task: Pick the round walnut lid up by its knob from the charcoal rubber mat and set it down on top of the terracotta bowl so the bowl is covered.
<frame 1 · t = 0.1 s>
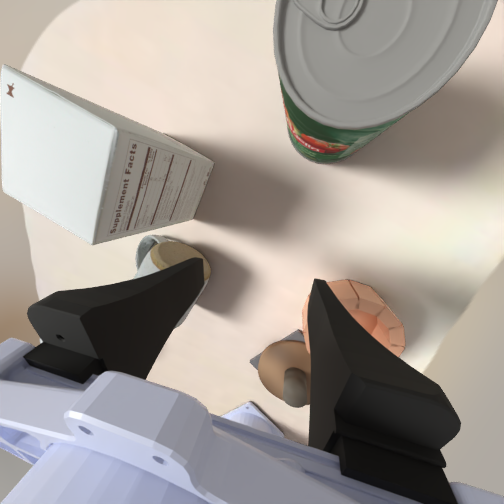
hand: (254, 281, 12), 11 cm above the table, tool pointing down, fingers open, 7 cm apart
canned tomato: (330, 118, 18), on the table
walnut lid: (295, 370, 26), resting on charcoal mat
ceramic mug: (179, 266, 26), on the table
supplement box: (179, 178, 23), on the table
terracotta bowl: (342, 315, 23), on the table
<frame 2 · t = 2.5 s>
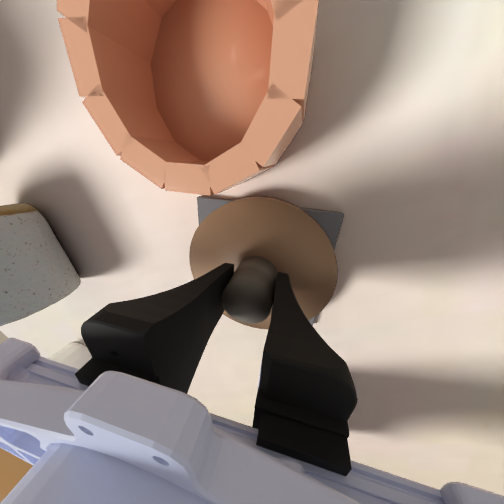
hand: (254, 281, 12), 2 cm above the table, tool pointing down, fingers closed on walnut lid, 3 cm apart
walnut lid: (259, 268, 14), resting on charcoal mat, touching gripper
charcoal mat: (260, 265, 14), on the table
ceramic mug: (47, 245, 19), on the table
shot glass: (87, 355, 28), on the table
terracotta bowl: (219, 91, 10), on the table
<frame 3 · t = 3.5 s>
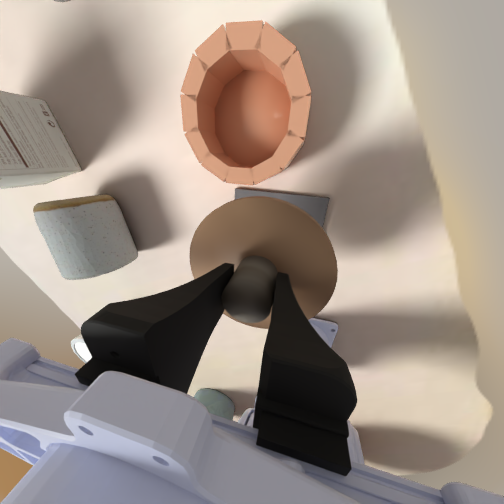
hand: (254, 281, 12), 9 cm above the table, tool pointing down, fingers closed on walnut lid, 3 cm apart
walnut lid: (259, 268, 14), point 8 cm above the table, touching gripper
charcoal mat: (275, 235, 21), on the table
ceramic mug: (112, 226, 26), on the table
supplement box: (48, 146, 23), on the table
shot glass: (129, 319, 34), on the table
teal cup: (215, 401, 40), on the table
terracotta bowl: (254, 124, 17), on the table
when the fingers open (7 cm above the table, at t = 4.9 s): walnut lid stays where it is, resting on terracotta bowl.
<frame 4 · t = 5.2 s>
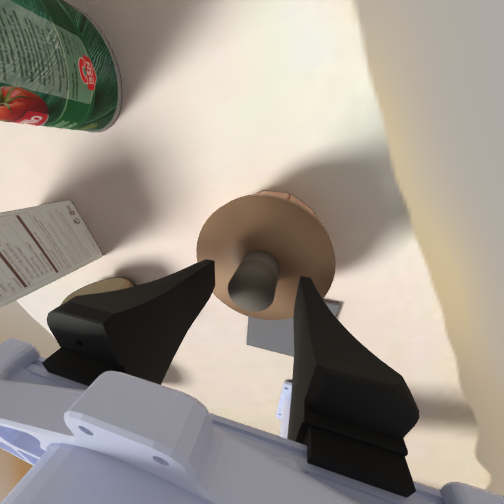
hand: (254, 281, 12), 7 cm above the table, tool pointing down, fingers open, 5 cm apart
canned tomato: (82, 77, 16), on the table
walnut lid: (262, 262, 15), point 4 cm above the table, touching terracotta bowl
charcoal mat: (287, 325, 22), on the table
ceramic mug: (127, 298, 27), on the table
supplement box: (71, 233, 24), on the table
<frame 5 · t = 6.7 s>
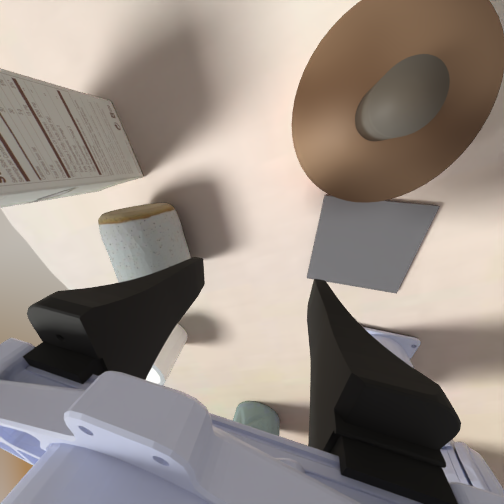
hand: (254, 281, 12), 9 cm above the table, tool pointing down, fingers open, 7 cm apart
walnut lid: (377, 115, 11), point 4 cm above the table, touching terracotta bowl
charcoal mat: (361, 246, 19), on the table
ceramic mug: (163, 235, 25), on the table
supplement box: (107, 151, 21), on the table
shot glass: (173, 331, 33), on the table
teal cup: (258, 413, 38), on the table
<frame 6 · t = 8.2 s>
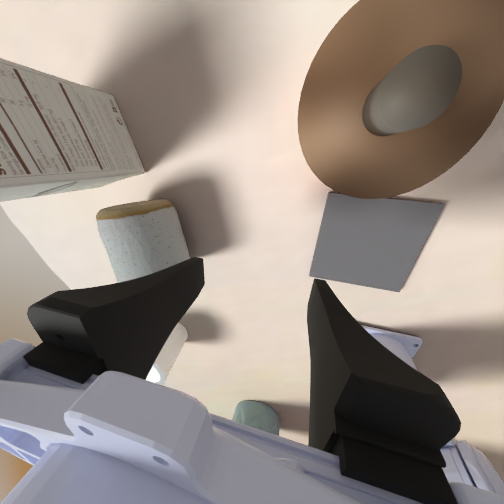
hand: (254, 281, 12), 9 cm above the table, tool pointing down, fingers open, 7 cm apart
walnut lid: (385, 110, 11), point 4 cm above the table, touching terracotta bowl
charcoal mat: (365, 244, 19), on the table
ceramic mug: (161, 232, 24), on the table
supplement box: (109, 146, 21), on the table
shot glass: (173, 329, 33), on the table
teal cup: (257, 412, 38), on the table
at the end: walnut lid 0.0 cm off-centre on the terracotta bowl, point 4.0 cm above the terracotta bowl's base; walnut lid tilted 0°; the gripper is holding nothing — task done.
